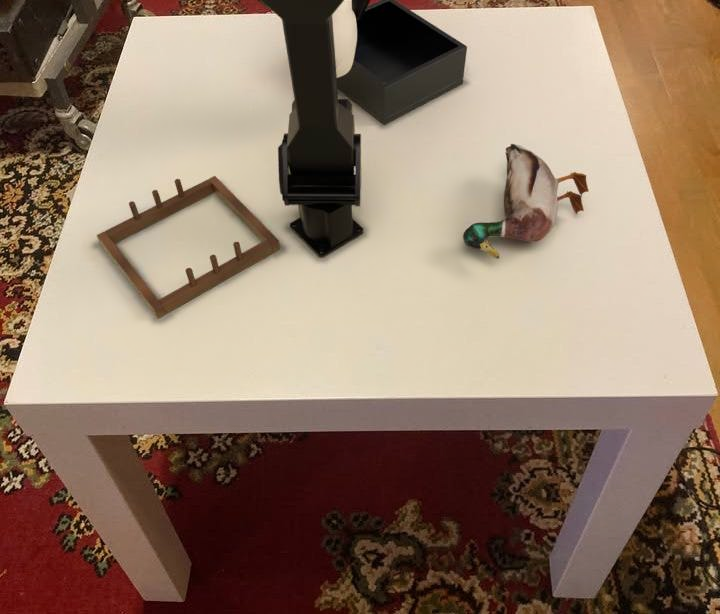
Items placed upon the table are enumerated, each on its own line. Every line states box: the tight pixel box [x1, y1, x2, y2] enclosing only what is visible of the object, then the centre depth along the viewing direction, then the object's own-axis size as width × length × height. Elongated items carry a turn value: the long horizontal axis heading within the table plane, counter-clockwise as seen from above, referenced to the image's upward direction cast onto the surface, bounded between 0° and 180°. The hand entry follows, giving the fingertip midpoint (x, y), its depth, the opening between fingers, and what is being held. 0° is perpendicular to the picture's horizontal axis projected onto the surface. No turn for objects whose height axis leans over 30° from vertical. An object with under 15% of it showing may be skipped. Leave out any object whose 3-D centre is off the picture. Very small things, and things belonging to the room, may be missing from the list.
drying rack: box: [96, 175, 281, 319], centre depth 82 cm, size 14×16×4 cm
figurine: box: [332, 0, 357, 78], centre depth 85 cm, size 7×8×12 cm
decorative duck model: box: [462, 143, 590, 260], centre depth 83 cm, size 15×8×15 cm
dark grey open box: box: [337, 0, 468, 126], centre depth 101 cm, size 17×15×6 cm
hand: (330, 31), depth 87 cm, fingers closed on figurine, 8 cm apart
